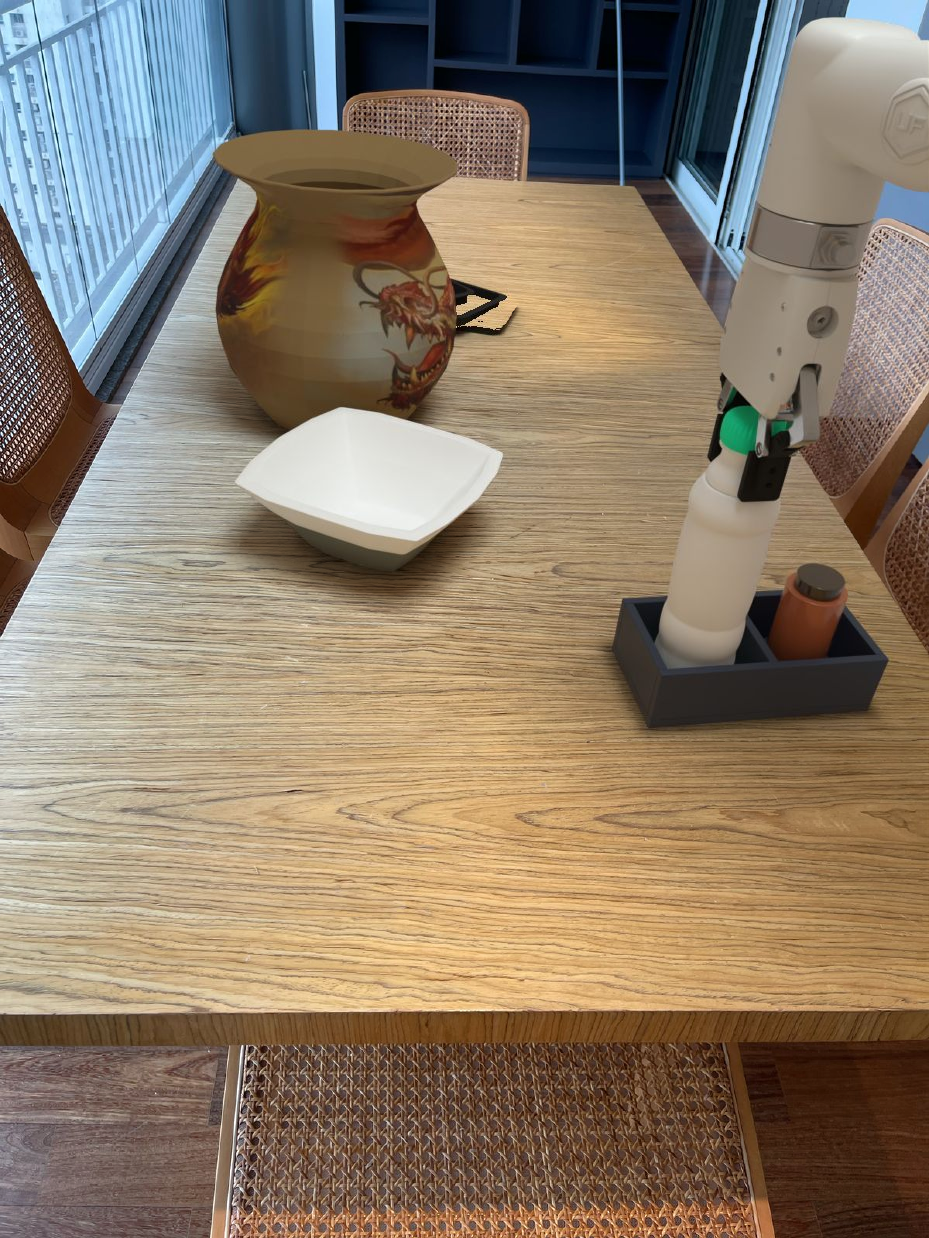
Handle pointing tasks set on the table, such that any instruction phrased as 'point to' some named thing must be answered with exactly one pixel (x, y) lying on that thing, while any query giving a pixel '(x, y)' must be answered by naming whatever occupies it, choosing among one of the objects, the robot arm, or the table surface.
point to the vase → (335, 274)
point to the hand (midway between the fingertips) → (741, 477)
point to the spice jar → (808, 613)
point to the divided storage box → (745, 671)
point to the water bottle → (717, 555)
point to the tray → (461, 298)
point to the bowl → (369, 484)
